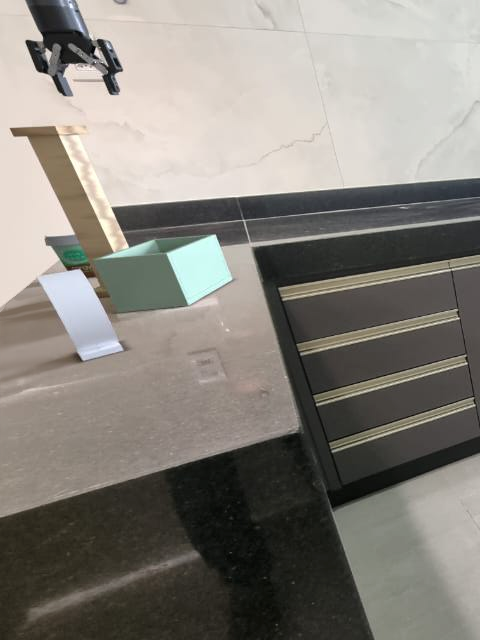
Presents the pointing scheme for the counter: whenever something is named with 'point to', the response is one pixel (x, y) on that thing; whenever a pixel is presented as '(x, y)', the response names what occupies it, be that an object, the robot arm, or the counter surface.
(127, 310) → the bin
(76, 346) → the white curved stand
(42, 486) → the counter surface
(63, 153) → the wooden stand
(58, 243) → the food container
